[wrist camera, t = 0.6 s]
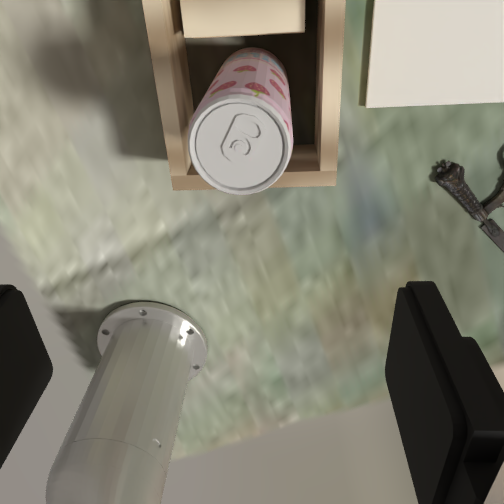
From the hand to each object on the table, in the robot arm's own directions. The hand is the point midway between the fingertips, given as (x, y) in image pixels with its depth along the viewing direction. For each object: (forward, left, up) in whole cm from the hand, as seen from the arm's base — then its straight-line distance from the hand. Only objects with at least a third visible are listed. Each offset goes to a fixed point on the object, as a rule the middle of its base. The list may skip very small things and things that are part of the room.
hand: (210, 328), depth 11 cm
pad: (+4, -15, -28) cm, 32 cm away
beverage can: (0, 0, -29) cm, 29 cm away
